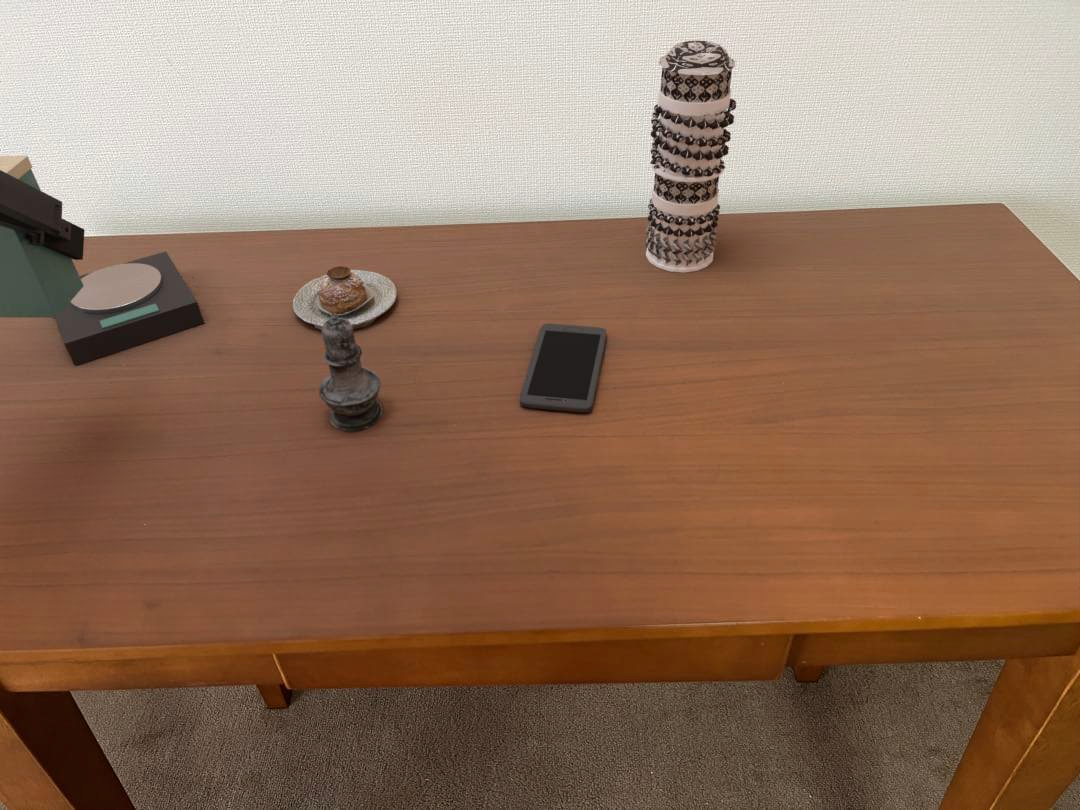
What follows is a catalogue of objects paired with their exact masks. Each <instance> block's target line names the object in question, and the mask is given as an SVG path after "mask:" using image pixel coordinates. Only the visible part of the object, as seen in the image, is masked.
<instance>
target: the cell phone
mask: <svg viewBox="0 0 1080 810" xmlns="http://www.w3.org/2000/svg"><path fill="white" fill-rule="evenodd" d="M606 342H607V329H606V328H604V327H599V326H589V325H575V324H563V323H562V324H561V323H543V324H541V326H540V328H539V332H538V336H537V338H536V341H535V344H534V348H533V351H532V354H531V357H530V361H529V365H528V368H527V371H526V375H525V378H524V381H523V384H522V386H521V387H522V388H521V391H520V395H519V405H520V406H522V407H524V408H529V409H539V410H550V411H560V412H572V413H582V414H583V413H590V412H591V411H592V410H593V406H594V402H595V399H596V393H597V389H598V383H599V377H600V373H601V368H602V363H603V358H604V357H603V356H604V352H605V347H606Z"/></svg>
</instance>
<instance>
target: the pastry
mask: <svg viewBox="0 0 1080 810" xmlns="http://www.w3.org/2000/svg"><path fill="white" fill-rule="evenodd" d="M397 292H398V290H397V287H396V285H395V284H394V282H393V281H392V280H391V279H390V278H388V277H386V276H384V275H382V274H379V273H378V272H374V271H370V270H369V271H368V270H362V269H350V268H349V267H347V266H342V265H341V266H334V267H332V268H330V269H328V270H327V272H326V274H324V275H321V276H320V277H317V278H314V279H312V280H310V281H309V282H307V283H305V284H304V285H303V286H302V287H301V288H299V289H298V291H297V292H296V294H295V296H294V297H293V300H292V310H293V312H294V314H295V315H296V316H297V317H298V318H299V319H301V320H302V321H304V322H305V323H307V324H310V325H313V327H314V329H316V330H319V331H322V326H323V324H324V323H325V322H326V321H327V320H329V319H331V318H330V316H331V314H332V313H333V312H334V313H336V314H337V315H338V317H340V318H345V319H346V320H348V321H349V322H350V323H351V325H352V328H353V330H356V329H359V328H365V327H367V326H369V325H371V324H372V323H373V322H375V320H376V318H378V317H380V316H381V315H383V314H385V313H386V312H387V311H388V310H390V309H391V307H392V306H393V305H394V304H395V302H396V299H397V296H398V294H397Z"/></svg>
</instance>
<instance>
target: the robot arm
mask: <svg viewBox="0 0 1080 810" xmlns="http://www.w3.org/2000/svg"><path fill="white" fill-rule="evenodd" d="M40 190H41V189H40ZM40 190H38V189H36V188H34V187H32V186H30V185H28V184H26V183H25V182H23V181H21V180H19V179H17V178H15V177H13V176H11V175H9V174H7V173H5V172H3V171H1V170H0V226H3V227H6V228H9V229H12V230H16V231H19V232H22V233H25V239H27V240H29V244H30V245H37V246H44V247H46V248H48V249H51V250H53V251H55V252H58V253H60V254H62V255H65V256H67V257H69V258H71V259H72V260H74V261H83V260H84V246H85V231H86V230H85V229H84V228H83V227H80V226H78V225H76V224H75V223H73V222H70V221H68V220H66V219H65V218H63V201H61V200H60V199H58V198H56V197H54V196H52V195H50V194H48V193H46V192H44V191H42V190H41V191H40Z"/></svg>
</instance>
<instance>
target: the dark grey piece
mask: <svg viewBox="0 0 1080 810" xmlns="http://www.w3.org/2000/svg"><path fill="white" fill-rule="evenodd" d="M330 318H331V319H329V320H327V321H326V322H325V323H324V324H323V326H322V330H321V336H322V340H323V344H324V349H325V351H324V353H323V356H322V357H323V361H324V362H325V363H326V364H327V365H328V368H329V372H330V374H328V376H326V377H325V378H324V379H323V380H322V381H321V383H320V385H319V388H318V393H319V396H320V398H321V400H323V402H325V404H326V405H327V406H328V408H330V411H329V415H328V419H329V423H330V424H331V425H332V426H333V427H334V428H335V429H336V430H339V431H341V432H349V433H350V432H351V433H353V432H359V431H364V430H367V429H369V428H371V427H373V426H374V425H376V424H377V423H378V422H379V421H380V420H381V418H382V417H383V413H384V409H383V404H382V403H381V402H380V401H379V400H378V396H379V393H380V392H379V391H380V389H381V385H382V383H381V378H380V376H379V375H378V374H377V373H376V372H375V371H373V369H369V368H366V367H363V366H362V362H361V357H362V354H363V351H362V348H361V347H360V346H359V345H358V344H357V341H356V338H355V333H354V329H353V328H352V325H351V323H350V322H349V321H348V320H346V319H345V318H340V317H338V315H337V314H336V313H334V312H333V313H332V314H331V316H330Z"/></svg>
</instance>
